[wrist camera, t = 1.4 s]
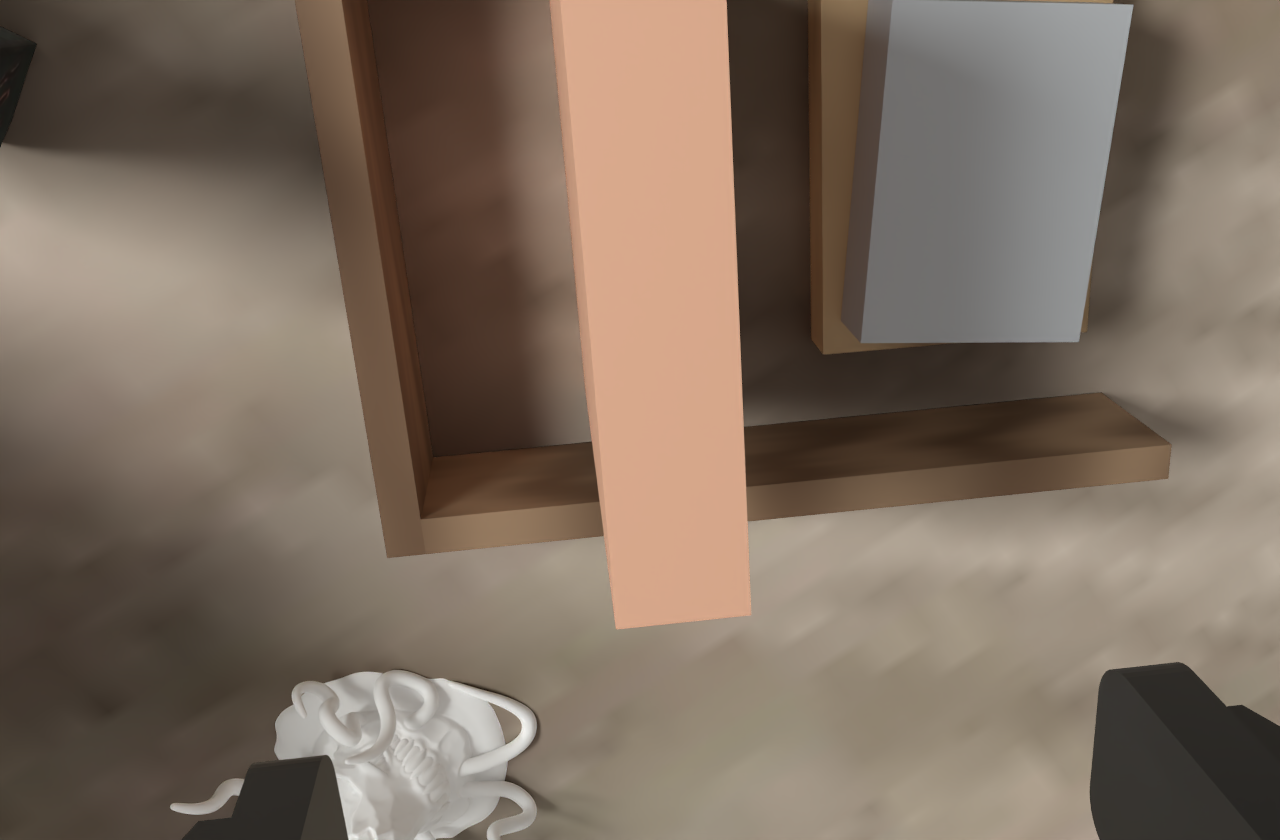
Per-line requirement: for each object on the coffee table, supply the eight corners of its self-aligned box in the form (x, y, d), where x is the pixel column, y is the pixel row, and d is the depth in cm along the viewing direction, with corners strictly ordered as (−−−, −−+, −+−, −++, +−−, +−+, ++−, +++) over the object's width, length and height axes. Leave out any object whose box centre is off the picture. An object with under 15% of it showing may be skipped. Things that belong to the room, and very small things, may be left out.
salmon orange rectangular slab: (643, -53, 36) (723, -70, 21) (671, 380, 41) (751, 615, 26) (545, -46, 36) (554, -58, 21) (585, 388, 41) (615, 629, 26)
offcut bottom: (1081, -51, 37) (1117, -52, 35) (1056, 311, 42) (1086, 332, 40) (802, -32, 37) (820, -32, 35) (807, 332, 41) (823, 354, 39)
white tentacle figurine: (538, 842, 48) (539, 1036, 39) (234, 855, 46) (166, 1057, 38) (535, 652, 44) (536, 817, 36) (209, 662, 43) (128, 834, 35)
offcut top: (1094, 2, 36) (1133, 4, 33) (1046, 319, 39) (1078, 342, 37) (868, -3, 35) (892, -1, 33) (840, 320, 39) (860, 343, 36)
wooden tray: (1147, -206, 35) (1240, -232, 31) (1098, 423, 43) (1167, 478, 38) (303, -148, 34) (267, -167, 29) (403, 492, 41) (387, 558, 37)
